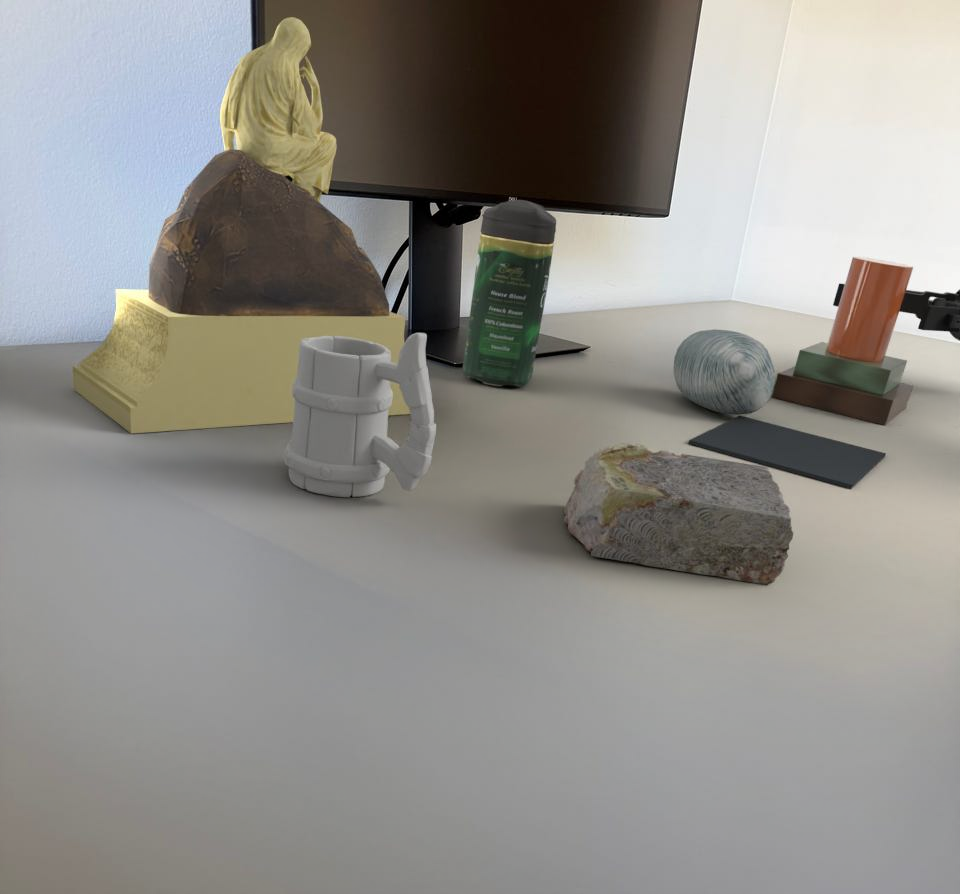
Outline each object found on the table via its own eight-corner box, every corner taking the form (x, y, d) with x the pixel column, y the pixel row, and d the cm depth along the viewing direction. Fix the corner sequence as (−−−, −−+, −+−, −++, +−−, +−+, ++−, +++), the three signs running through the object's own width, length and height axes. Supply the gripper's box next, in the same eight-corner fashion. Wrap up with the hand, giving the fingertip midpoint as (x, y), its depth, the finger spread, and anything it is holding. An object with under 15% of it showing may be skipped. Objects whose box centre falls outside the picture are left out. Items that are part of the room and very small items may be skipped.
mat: (884, 456, 101) (886, 453, 101) (851, 489, 89) (852, 484, 89) (738, 418, 108) (739, 415, 108) (688, 443, 95) (689, 439, 95)
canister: (888, 358, 122) (918, 266, 117) (877, 364, 117) (907, 268, 112) (833, 346, 125) (859, 255, 120) (819, 351, 120) (847, 257, 115)
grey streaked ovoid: (669, 404, 118) (642, 342, 110) (733, 355, 117) (710, 290, 110) (736, 456, 108) (711, 391, 101) (805, 403, 108) (785, 335, 100)
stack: (905, 408, 126) (921, 361, 124) (885, 425, 115) (901, 374, 113) (800, 383, 132) (813, 338, 129) (771, 397, 121) (784, 348, 118)
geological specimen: (813, 519, 63) (587, 475, 62) (782, 601, 66) (565, 560, 65) (775, 464, 72) (578, 426, 71) (750, 539, 75) (560, 502, 74)
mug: (328, 457, 77) (338, 299, 71) (453, 499, 72) (475, 334, 66) (261, 477, 71) (267, 306, 65) (393, 524, 66) (411, 344, 60)
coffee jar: (528, 393, 105) (557, 208, 97) (456, 381, 106) (479, 196, 97) (535, 375, 114) (562, 204, 105) (469, 364, 114) (490, 192, 106)
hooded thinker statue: (351, 378, 101) (375, 42, 87) (423, 412, 92) (462, 47, 79) (73, 389, 84) (49, -25, 70) (131, 433, 75) (115, -28, 62)
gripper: (1062, 365, 122) (953, 361, 112) (904, 322, 140) (798, 315, 130) (1087, 303, 118) (977, 293, 108) (921, 267, 137) (814, 256, 127)
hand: (879, 305), depth 119 cm, fingers open, 13 cm apart
